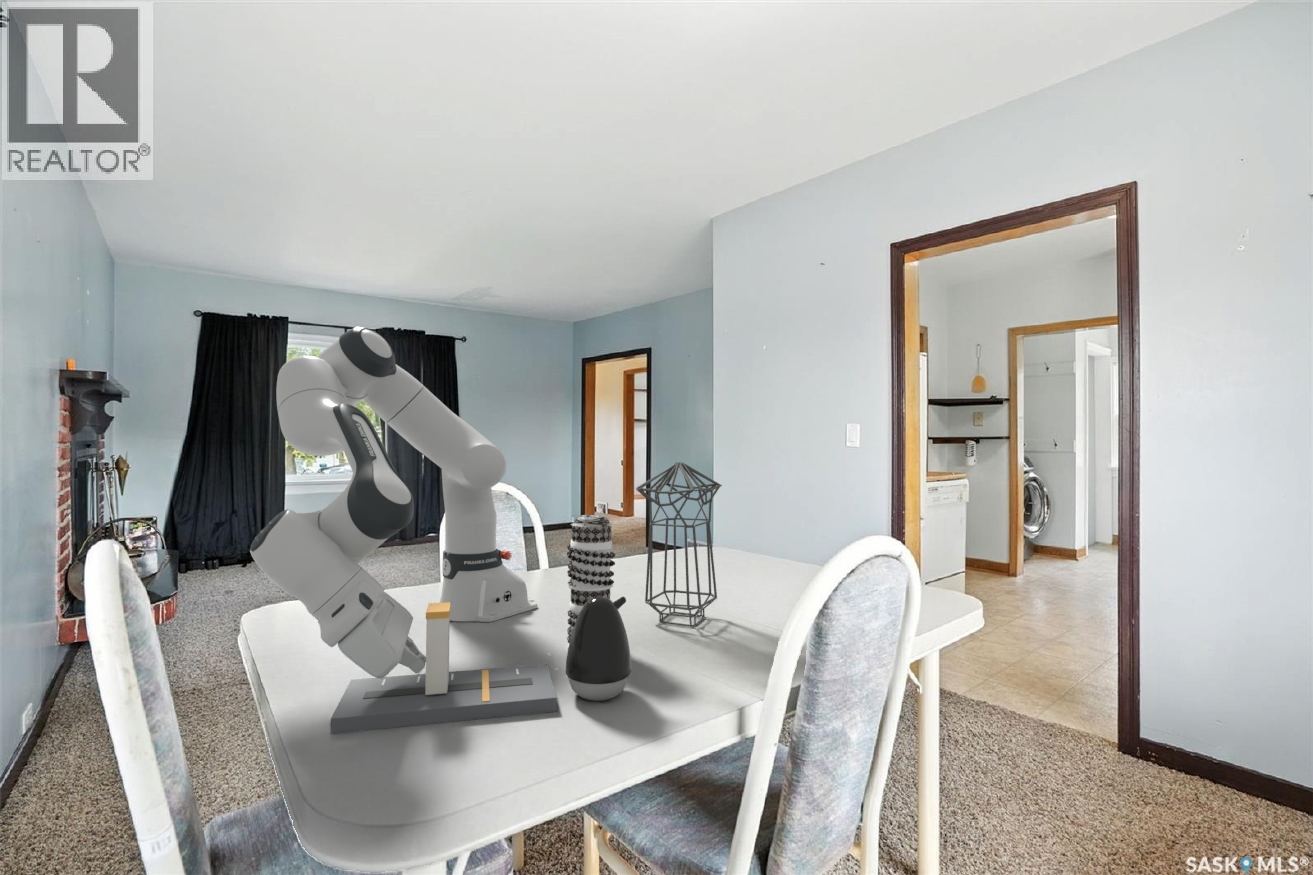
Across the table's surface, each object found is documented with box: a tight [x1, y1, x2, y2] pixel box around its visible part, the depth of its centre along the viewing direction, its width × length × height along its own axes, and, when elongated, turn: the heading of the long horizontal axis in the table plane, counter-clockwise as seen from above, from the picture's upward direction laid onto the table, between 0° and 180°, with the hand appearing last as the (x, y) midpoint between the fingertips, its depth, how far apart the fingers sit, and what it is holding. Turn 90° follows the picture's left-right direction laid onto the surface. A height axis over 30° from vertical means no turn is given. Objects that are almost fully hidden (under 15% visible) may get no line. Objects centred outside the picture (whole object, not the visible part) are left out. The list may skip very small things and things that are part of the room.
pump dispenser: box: [565, 596, 632, 702], centre depth 99 cm, size 10×10×15 cm
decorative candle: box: [566, 514, 616, 648], centre depth 121 cm, size 9×9×25 cm
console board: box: [329, 663, 558, 735], centre depth 95 cm, size 30×14×2 cm, turn 106°
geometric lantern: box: [635, 461, 723, 628], centre depth 140 cm, size 16×16×35 cm
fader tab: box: [425, 602, 451, 695], centre depth 95 cm, size 3×5×12 cm, turn 16°
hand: (422, 666), depth 94 cm, fingers closed, pressing on fader tab
